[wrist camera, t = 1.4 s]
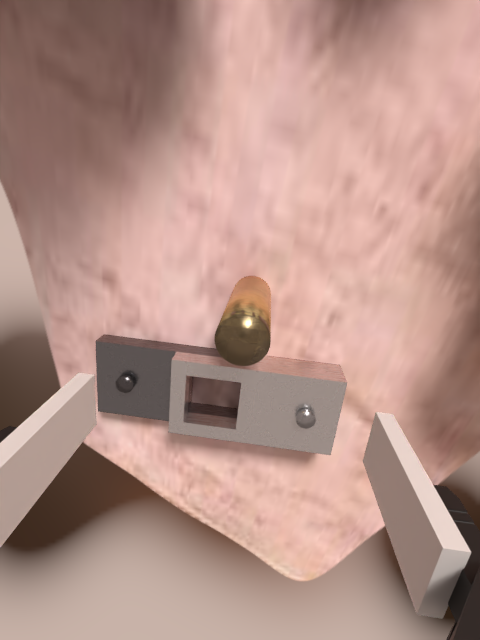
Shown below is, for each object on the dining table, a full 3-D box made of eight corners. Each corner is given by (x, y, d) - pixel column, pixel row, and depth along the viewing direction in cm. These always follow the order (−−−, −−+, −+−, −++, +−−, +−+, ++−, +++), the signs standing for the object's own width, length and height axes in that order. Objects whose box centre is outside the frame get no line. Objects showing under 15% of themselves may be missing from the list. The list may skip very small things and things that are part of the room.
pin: (225, 291, 38) (203, 335, 25) (254, 268, 37) (246, 303, 24) (248, 319, 38) (238, 375, 26) (278, 297, 37) (281, 345, 25)
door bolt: (103, 334, 41) (82, 351, 36) (339, 365, 39) (348, 386, 35) (105, 402, 43) (86, 425, 39) (325, 432, 42) (331, 460, 38)
